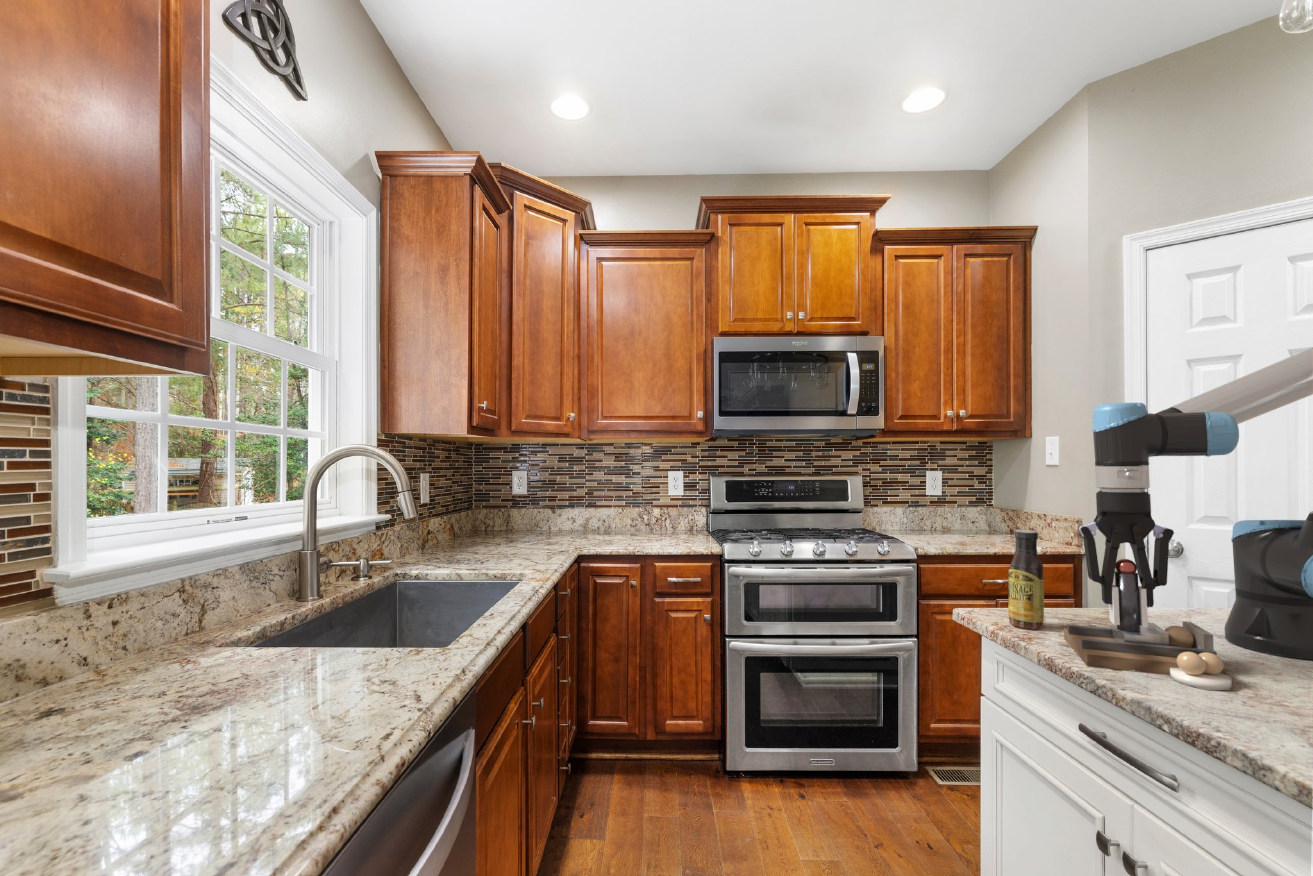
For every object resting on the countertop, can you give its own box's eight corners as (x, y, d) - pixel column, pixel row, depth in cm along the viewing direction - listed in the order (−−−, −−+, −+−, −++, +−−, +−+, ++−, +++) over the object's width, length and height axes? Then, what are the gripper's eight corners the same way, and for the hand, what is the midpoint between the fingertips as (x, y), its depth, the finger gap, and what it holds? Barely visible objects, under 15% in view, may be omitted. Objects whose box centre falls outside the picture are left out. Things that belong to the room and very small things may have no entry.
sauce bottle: (1002, 624, 123) (998, 529, 123) (1021, 620, 125) (1017, 528, 126) (1033, 632, 117) (1029, 533, 117) (1052, 628, 119) (1048, 531, 120)
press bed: (1182, 649, 105) (1181, 616, 106) (1227, 680, 91) (1225, 641, 91) (1064, 638, 112) (1062, 607, 113) (1087, 666, 98) (1085, 630, 98)
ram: (1154, 641, 103) (1150, 557, 104) (1169, 652, 97) (1165, 563, 98) (1112, 637, 106) (1108, 555, 106) (1124, 648, 100) (1120, 561, 100)
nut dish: (1218, 677, 92) (1216, 647, 92) (1241, 693, 86) (1239, 662, 86) (1162, 671, 95) (1161, 642, 95) (1181, 686, 89) (1179, 656, 89)
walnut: (1188, 647, 100) (1187, 624, 101) (1199, 654, 97) (1197, 630, 97) (1159, 645, 102) (1158, 622, 102) (1168, 652, 98) (1167, 628, 98)
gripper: (1072, 491, 103) (1078, 625, 102) (1190, 491, 96) (1197, 635, 95) (1062, 488, 110) (1067, 614, 109) (1171, 489, 103) (1178, 623, 102)
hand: (1128, 623), depth 102 cm, fingers closed on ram, 3 cm apart
